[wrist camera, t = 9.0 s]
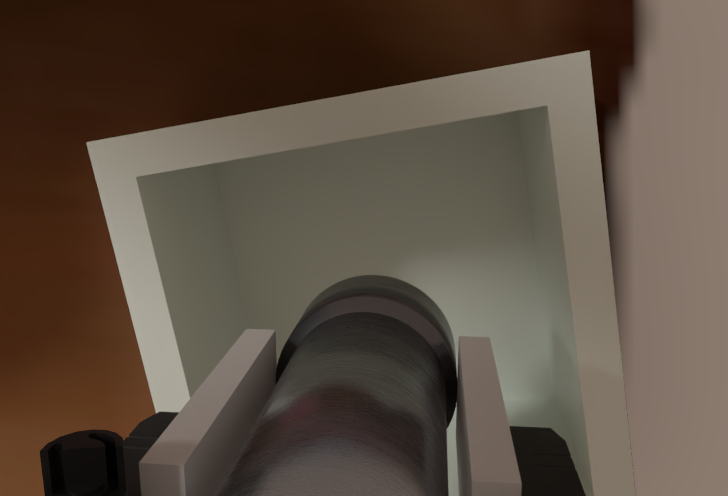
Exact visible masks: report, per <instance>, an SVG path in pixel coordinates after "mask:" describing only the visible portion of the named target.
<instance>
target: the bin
mask: <svg viewBox="0 0 728 496" xmlns="http://www.w3.org/2000/svg"><path fill="white" fill-rule="evenodd" d="M86 144H87V148H88V152H89V156H90V160H91V163H92V167H93V171H94V175H95V179H96V183H97V187H98V190H99V194H100V198H101V202H102V206H103V210H104V214H105V218H106V221H107V225H108V229H109V233H110V237H111V241H112V245H113V248H114V252H115V256H116V260H117V264H118V268H119V272H120V276H121V279H122V283H123V287H124V291H125V295H126V299H127V303H128V306H129V310H130V314H131V318H132V322H133V326H134V330H135V334H136V337H137V341H138V345H139V349H140V353H141V357H142V361H143V365H144V368H145V372H146V376H147V380H148V384H149V388H150V392H151V395H152V399H153V403H154V407H155V411H156V413H158V412H180V411H181V410H182V408H183V407H184V406H185V405H186V403H187V402H188V401H189V400H190V398H191V397H192V396H193V395H194V393H195V392H196V391H197V390H198V388H199V387H200V386H201V385H202V383H203V382H204V381H205V380H206V379H207V377H208V376H209V375H210V374H211V372H212V371H213V370H214V369H215V367H216V366H217V365H218V364H219V362H220V361H221V360H222V359H223V357H224V356H225V355H226V354H227V352H228V351H229V350H230V349H231V347H232V346H233V345H234V344H235V342H236V341H237V340H238V339H239V337H240V336H241V335H242V334H243V332H244V331H245V330H246V329H265V330H276V363H277V364H278V360H279V357H280V354H281V351H282V349H283V347H284V345H285V343H286V341H287V340H288V338H289V336H290V335H291V333H292V331H293V330H294V328H295V326H296V325H297V323H298V321H299V320H300V318H301V317H302V315H303V313H304V312H305V310H306V309H307V307H308V306H309V305H310V303H311V302H312V301H313V300H314V299H315V298H316V297H317V296H318V295H319V294H320V293H321V292H323V291H324V290H325V289H326V288H328V287H330V286H332V285H333V284H335V283H337V282H340V281H342V280H344V279H348V278H351V277H355V276H362V275H381V276H388V277H392V278H397V279H400V280H402V281H405V282H407V283H409V284H411V285H413V286H415V287H417V288H418V289H420V290H421V291H422V292H424V293H425V294H427V295H428V296H429V297H430V298H431V299H432V300H433V301H434V302H435V303H436V304H437V306H438V307H439V308H440V309H441V311H442V312H443V314H444V316H445V317H446V319H447V321H448V323H449V326H450V328H451V331H452V334H453V338H454V344H455V354H456V368H457V378H458V345H459V336H472V337H490V341H491V345H492V350H493V354H494V359H495V363H496V368H497V373H498V377H499V382H500V386H501V391H502V395H503V400H504V405H505V409H506V414H507V418H508V423H509V426H521V427H542V428H551V429H552V430H554V431H555V432H556V433H557V434H558V435H559V436H560V437H562V438H563V439H564V440H565V441H566V444H567V446H568V449H569V452H570V454H571V458H572V460H573V462H574V465H575V470H577V473H578V476H579V479H580V481H581V484H582V487H583V489H584V492H585V495H586V496H636V491H635V482H634V472H633V463H632V453H631V444H630V434H629V425H628V415H627V406H626V396H625V387H624V377H623V367H622V358H621V348H620V339H619V329H618V320H617V310H616V301H615V291H614V282H613V272H612V263H611V253H610V244H609V234H608V225H607V215H606V205H605V196H604V186H603V177H602V167H601V158H600V148H599V139H598V129H597V120H596V110H595V101H594V91H593V82H592V72H591V63H590V53H589V50H588V51H583V52H577V53H572V54H566V55H561V56H555V57H550V58H544V59H539V60H533V61H528V62H523V63H517V64H512V65H506V66H501V67H495V68H490V69H484V70H479V71H473V72H468V73H462V74H457V75H452V76H446V77H441V78H435V79H430V80H424V81H419V82H413V83H408V84H402V85H397V86H391V87H386V88H380V89H375V90H370V91H364V92H359V93H353V94H348V95H342V96H337V97H331V98H326V99H320V100H315V101H309V102H304V103H298V104H293V105H288V106H282V107H277V108H271V109H266V110H260V111H255V112H249V113H244V114H238V115H233V116H227V117H222V118H216V119H211V120H206V121H200V122H195V123H189V124H184V125H178V126H173V127H167V128H162V129H156V130H151V131H145V132H140V133H135V134H129V135H124V136H118V137H113V138H107V139H102V140H96V141H91V142H86ZM456 410H457V403H456V408H455V411H454V415H453V418H452V420H451V422H450V424H449V427H448V428H447V457H448V492H449V496H459V487H458V469H457V451H456Z"/></svg>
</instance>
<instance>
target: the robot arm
mask: <svg viewBox="0 0 728 496" xmlns="http://www.w3.org/2000/svg"><path fill="white" fill-rule="evenodd" d="M276 369H277V363H276V330H265V329H246V330H245V331H244V332H243V334H242V335H241V336H240V337H239V339H238V340H237V341H236V342H235V344H234V345H233V346H232V347H231V349H230V350H229V351H228V352H227V354H226V355H225V356H224V357H223V359H222V360H221V361H220V362H219V364H218V365H217V366H216V367H215V369H214V370H213V371H212V372H211V374H210V375H209V376H208V377H207V379H206V380H205V381H204V382H203V383H202V385H201V386H200V387H199V388H198V390H197V391H196V392H195V393H194V395H193V396H192V397H191V398H190V400H189V401H188V402H187V403H186V405H185V406H184V407H183V408H182V410H181V411H180V412H158V413H156V414H154V415H153V416H151V417H149V418H147V419H145V420H144V421H142V422H140V423H139V424H138V426H137V427H136V428H135V429H134V430H133V431H132V432H131V433H130V434H129V437H127V438H126V439H125V440H124V441H123V438H122V437H121V436H119V435H118V434H117V433H114V432H111V431H107V430H86V431H79V432H74V433H71V434H68V435H64V436H61V437H59V438H57V439H55V440H53V441H51V442H50V443H48V444H47V445H46V446H45V447H44V448H43V449H42V450H41V451H40V457H41V465H42V474H43V483H44V492H45V496H215V495H216V493H217V491H218V489H219V488H220V486H221V484H222V482H223V480H224V479H225V477H226V475H227V473H228V471H229V470H230V468H231V466H232V464H233V462H234V460H235V459H236V457H237V455H238V453H239V451H240V450H241V448H242V446H243V444H244V442H245V441H246V439H247V437H248V435H249V433H250V431H251V430H252V428H253V426H254V424H255V422H256V421H257V419H258V417H259V415H260V413H261V412H262V410H263V408H264V406H265V404H266V402H267V401H268V399H269V397H270V395H271V393H272V392H273V390H274V388H275V386H276ZM457 382H458V386H457V410H456V451H457V469H458V487H459V496H586V495H585V492H584V489H583V487H582V484H581V481H580V479H579V476H578V473H577V470H575V465H574V462H573V460H572V458H571V454H570V452H569V449H568V446H567V444H566V441H565V440H564V439H563V438H562V437H560V436H559V435H558V434H557V433H556V432H555V431H554V430H552V429H551V428H542V427H521V426H509V423H508V418H507V414H506V409H505V405H504V400H503V395H502V391H501V386H500V382H499V377H498V373H497V368H496V363H495V359H494V354H493V350H492V345H491V341H490V337H472V336H459V345H458V378H457Z"/></svg>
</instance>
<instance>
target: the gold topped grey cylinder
mask: <svg viewBox="0 0 728 496" xmlns="http://www.w3.org/2000/svg"><path fill="white" fill-rule="evenodd" d="M457 386H458V382H457V368H456V354H455V344H454V338H453V334H452V331H451V328H450V326H449V323H448V321H447V319H446V317H445V316H444V314H443V312H442V311H441V309H440V308H439V307H438V306H437V304H436V303H435V302H434V301H433V300H432V299H431V298H430V297H429V296H428V295H427V294H425V293H424V292H422V291H421V290H420V289H418V288H417V287H415V286H413V285H411V284H409V283H407V282H405V281H402V280H400V279H397V278H392V277H388V276H381V275H362V276H355V277H351V278H348V279H344V280H342V281H340V282H337V283H335V284H333V285H332V286H330V287H328V288H326V289H325V290H324V291H323V292H321V293H320V294H319V295H318V296H317V297H316V298H315V299H314V300H313V301H312V302H311V303H310V305H309V306H308V307H307V309H306V310H305V312H304V313H303V315H302V317H301V318H300V320H299V321H298V323H297V325H296V326H295V328H294V330H293V331H292V333H291V335H290V336H289V338H288V340H287V341H286V343H285V345H284V347H283V349H282V351H281V354H280V357H279V360H278V364H277V369H276V386H275V388H274V390H273V392H272V393H271V395H270V397H269V399H268V401H267V402H266V404H265V406H264V408H263V410H262V412H261V413H260V415H259V417H258V419H257V421H256V422H255V424H254V426H253V428H252V430H251V431H250V433H249V435H248V437H247V439H246V441H245V442H244V444H243V446H242V448H241V450H240V451H239V453H238V455H237V457H236V459H235V460H234V462H233V464H232V466H231V468H230V470H229V471H228V473H227V475H226V477H225V479H224V480H223V482H222V484H221V486H220V488H219V489H218V491H217V493H216V495H215V496H449V492H448V457H447V428H448V427H449V424H450V422H451V420H452V418H453V415H454V411H455V408H456V403H457Z"/></svg>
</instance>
